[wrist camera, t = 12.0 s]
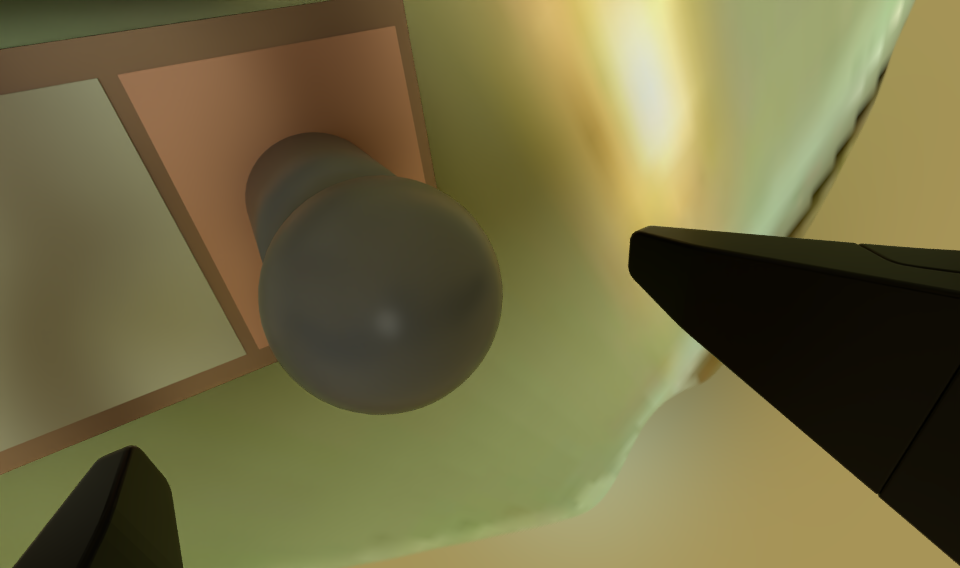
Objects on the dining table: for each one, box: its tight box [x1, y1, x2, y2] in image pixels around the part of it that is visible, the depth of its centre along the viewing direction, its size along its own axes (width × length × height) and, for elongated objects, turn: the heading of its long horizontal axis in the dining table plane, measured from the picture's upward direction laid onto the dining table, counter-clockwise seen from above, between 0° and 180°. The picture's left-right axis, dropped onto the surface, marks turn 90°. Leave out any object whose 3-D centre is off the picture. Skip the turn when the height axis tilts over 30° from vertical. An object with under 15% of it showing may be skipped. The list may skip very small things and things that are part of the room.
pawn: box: [245, 132, 503, 415], centre depth 11 cm, size 5×5×9 cm
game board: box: [0, 0, 437, 475], centre depth 12 cm, size 22×10×1 cm, turn 98°
